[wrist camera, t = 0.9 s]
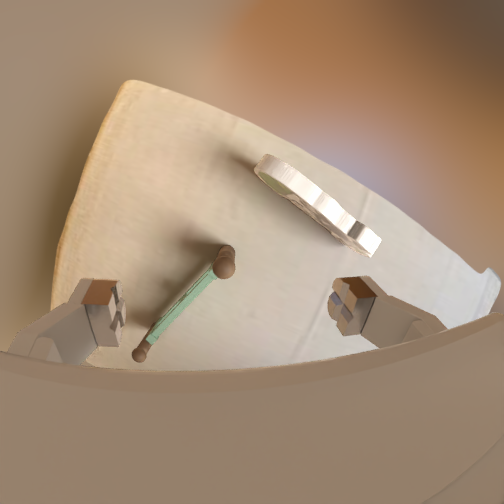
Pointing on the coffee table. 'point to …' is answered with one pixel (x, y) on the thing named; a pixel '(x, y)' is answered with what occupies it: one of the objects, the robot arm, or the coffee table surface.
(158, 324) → the gate
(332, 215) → the cutout
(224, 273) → the gate posts
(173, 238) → the coffee table surface
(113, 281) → the robot arm
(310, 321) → the coffee table surface
